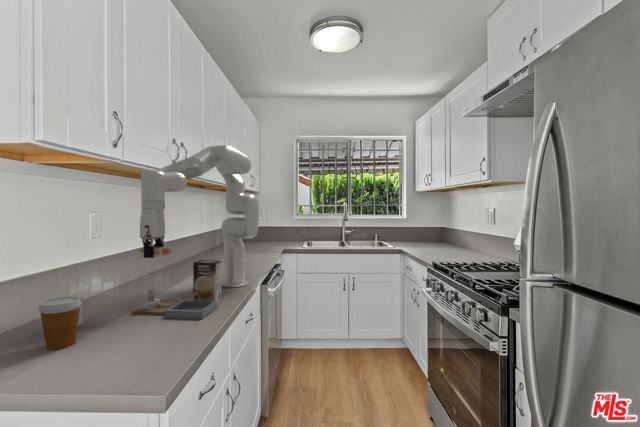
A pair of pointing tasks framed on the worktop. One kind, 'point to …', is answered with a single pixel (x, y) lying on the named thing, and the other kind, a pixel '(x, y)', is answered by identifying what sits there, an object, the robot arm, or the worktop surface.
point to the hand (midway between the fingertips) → (154, 255)
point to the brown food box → (207, 280)
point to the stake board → (156, 312)
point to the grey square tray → (191, 309)
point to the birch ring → (157, 251)
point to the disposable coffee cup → (60, 321)
